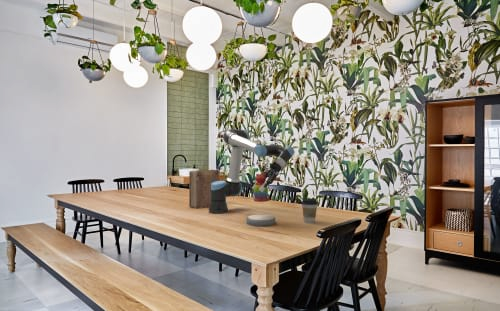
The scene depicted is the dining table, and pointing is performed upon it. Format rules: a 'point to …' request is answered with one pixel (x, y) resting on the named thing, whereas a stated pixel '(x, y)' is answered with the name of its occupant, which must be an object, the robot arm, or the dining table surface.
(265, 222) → the pedestal
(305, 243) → the dining table surface
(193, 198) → the book
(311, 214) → the coffee cup
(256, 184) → the stacking bear
